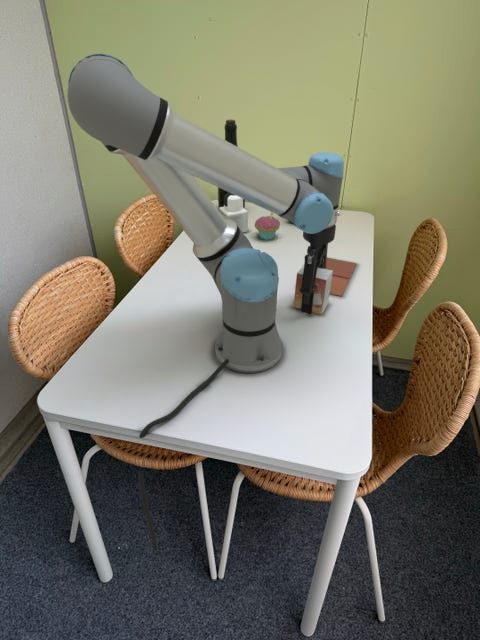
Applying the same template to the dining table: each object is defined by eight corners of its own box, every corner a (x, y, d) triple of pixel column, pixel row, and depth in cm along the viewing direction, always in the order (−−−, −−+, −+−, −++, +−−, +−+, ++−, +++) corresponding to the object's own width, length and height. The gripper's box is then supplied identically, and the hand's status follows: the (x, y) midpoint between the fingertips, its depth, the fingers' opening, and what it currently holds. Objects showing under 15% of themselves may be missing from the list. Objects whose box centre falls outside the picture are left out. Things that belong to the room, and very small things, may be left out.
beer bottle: (223, 204, 177) (221, 116, 158) (248, 207, 174) (249, 118, 155) (214, 214, 169) (211, 122, 150) (240, 217, 166) (240, 124, 147)
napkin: (341, 296, 121) (342, 294, 120) (299, 287, 124) (299, 285, 124) (356, 264, 136) (356, 263, 135) (318, 257, 139) (318, 256, 139)
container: (219, 227, 158) (218, 192, 151) (238, 224, 161) (238, 189, 154) (228, 235, 153) (227, 199, 145) (248, 231, 155) (248, 196, 148)
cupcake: (279, 232, 155) (281, 199, 148) (278, 242, 148) (280, 208, 141) (255, 231, 156) (255, 198, 149) (253, 241, 149) (254, 207, 142)
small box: (292, 307, 116) (295, 272, 110) (300, 297, 120) (303, 263, 114) (322, 315, 113) (326, 279, 107) (328, 304, 117) (333, 269, 111)
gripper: (324, 243, 94) (314, 328, 107) (345, 209, 110) (334, 287, 123) (290, 237, 96) (284, 321, 110) (316, 205, 112) (308, 282, 125)
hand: (311, 303), depth 116 cm, fingers open, 8 cm apart
